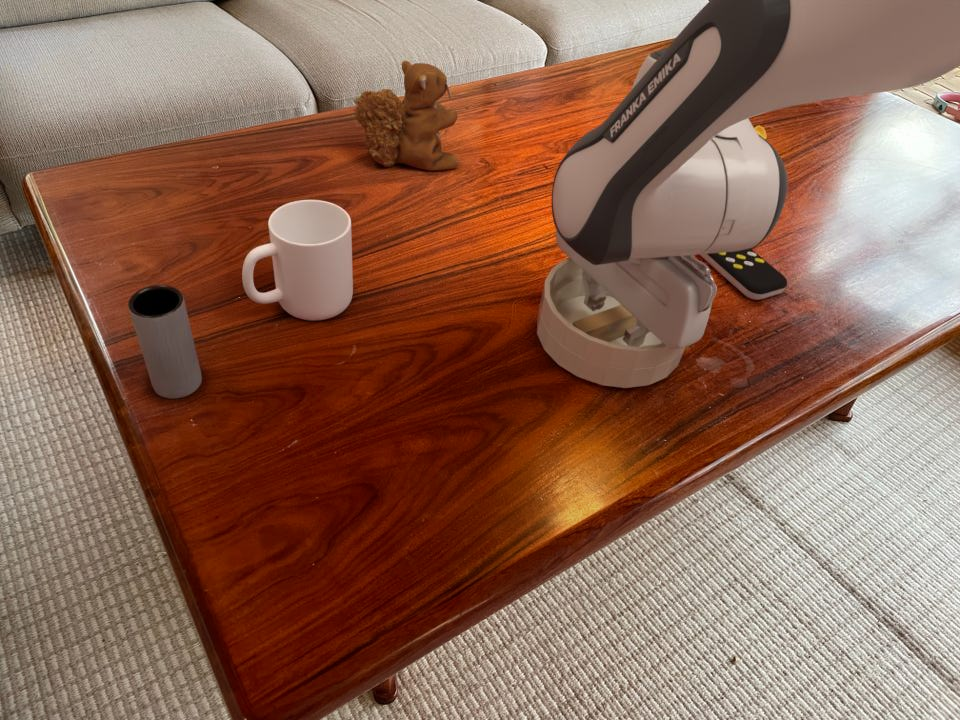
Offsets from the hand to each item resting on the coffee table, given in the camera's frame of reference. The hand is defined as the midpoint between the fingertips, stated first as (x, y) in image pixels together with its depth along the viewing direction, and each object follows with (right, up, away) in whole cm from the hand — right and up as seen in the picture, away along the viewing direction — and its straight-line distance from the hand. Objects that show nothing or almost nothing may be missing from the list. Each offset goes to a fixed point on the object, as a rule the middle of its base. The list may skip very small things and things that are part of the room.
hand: (612, 324), depth 81 cm
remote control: (+18, +8, +14) cm, 24 cm away
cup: (-34, +2, +1) cm, 34 cm away
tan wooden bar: (0, -1, +1) cm, 2 cm away
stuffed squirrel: (-25, +25, +26) cm, 44 cm away
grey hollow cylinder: (-44, -6, -9) cm, 45 cm away
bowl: (0, -1, +1) cm, 2 cm away
